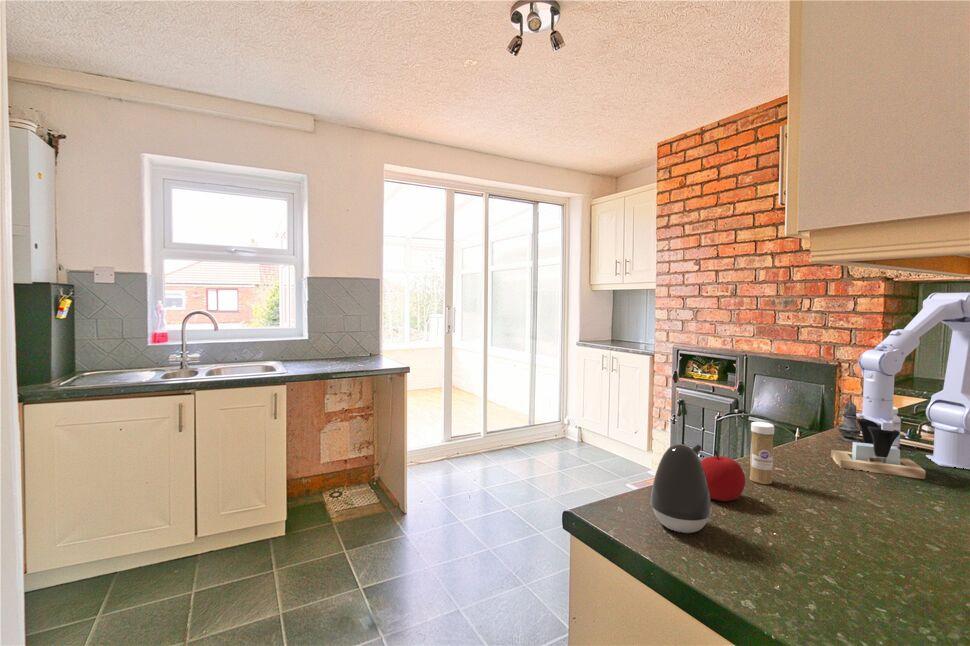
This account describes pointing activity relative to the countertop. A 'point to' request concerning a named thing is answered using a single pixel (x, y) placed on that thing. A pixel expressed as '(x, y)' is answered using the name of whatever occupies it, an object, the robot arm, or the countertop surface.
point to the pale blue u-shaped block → (867, 450)
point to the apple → (723, 477)
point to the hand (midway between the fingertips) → (875, 452)
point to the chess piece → (849, 424)
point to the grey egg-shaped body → (681, 490)
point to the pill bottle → (896, 426)
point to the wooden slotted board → (878, 465)
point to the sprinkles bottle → (761, 452)
